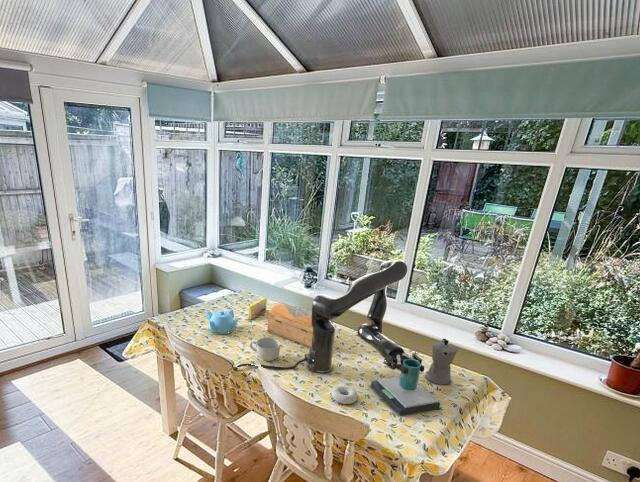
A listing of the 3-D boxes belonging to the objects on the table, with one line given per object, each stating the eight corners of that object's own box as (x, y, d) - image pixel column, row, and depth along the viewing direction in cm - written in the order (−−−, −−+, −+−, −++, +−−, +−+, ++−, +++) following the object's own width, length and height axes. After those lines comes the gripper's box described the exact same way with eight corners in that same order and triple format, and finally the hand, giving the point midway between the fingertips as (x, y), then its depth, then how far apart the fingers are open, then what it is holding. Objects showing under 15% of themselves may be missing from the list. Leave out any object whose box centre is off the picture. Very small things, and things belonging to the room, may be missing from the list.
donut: (352, 390, 163) (327, 391, 163) (353, 383, 162) (328, 383, 161) (360, 405, 154) (334, 406, 153) (362, 397, 153) (335, 398, 152)
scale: (399, 415, 149) (400, 408, 148) (370, 386, 166) (371, 379, 165) (439, 408, 153) (440, 401, 152) (406, 380, 171) (408, 374, 170)
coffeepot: (451, 389, 165) (460, 349, 158) (426, 384, 168) (434, 345, 162) (449, 371, 179) (457, 333, 172) (426, 367, 182) (433, 330, 175)
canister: (405, 391, 155) (409, 368, 151) (395, 382, 160) (399, 360, 156) (420, 389, 156) (424, 366, 152) (410, 380, 162) (414, 358, 158)
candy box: (251, 320, 227) (251, 306, 224) (248, 319, 228) (248, 305, 225) (266, 311, 240) (266, 297, 237) (263, 310, 241) (263, 297, 238)
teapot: (239, 335, 210) (239, 315, 205) (209, 337, 206) (209, 317, 202) (233, 323, 223) (233, 304, 219) (206, 325, 220) (205, 306, 216)
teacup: (283, 355, 190) (283, 339, 187) (274, 365, 181) (274, 349, 178) (255, 349, 195) (255, 334, 192) (245, 359, 186) (246, 343, 183)
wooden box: (333, 339, 207) (336, 313, 201) (314, 350, 195) (316, 323, 190) (286, 322, 225) (287, 298, 220) (266, 331, 214) (267, 306, 209)
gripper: (375, 344, 165) (399, 364, 150) (406, 340, 168) (433, 359, 153) (373, 360, 167) (396, 382, 153) (403, 356, 171) (429, 377, 156)
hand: (415, 370), depth 153 cm, fingers closed on canister, 6 cm apart
